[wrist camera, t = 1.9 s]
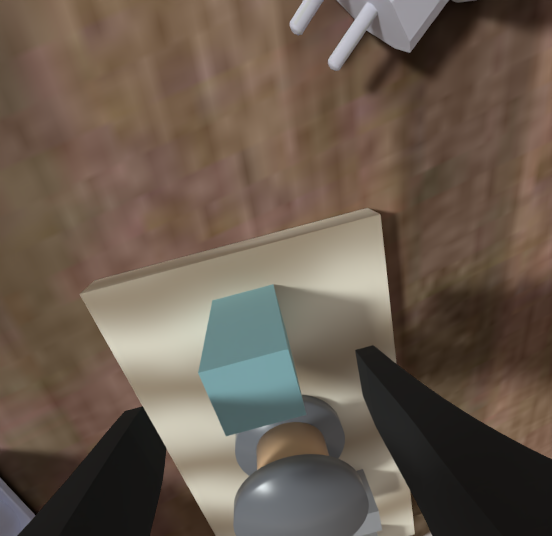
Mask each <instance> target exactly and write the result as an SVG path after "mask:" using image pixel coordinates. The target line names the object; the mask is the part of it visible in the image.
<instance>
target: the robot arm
mask: <svg viewBox="0 0 552 536" xmlns="http://www.w3.org/2000/svg"><path fill="white" fill-rule="evenodd" d="M355 354H356V359H357V365H358V371H359V377H360V383H361V389H362V394H363V398H364V400H365V402H366V405H367V407H368V410H369V412H370V415H371V417H372V419H373V422H374V424H375V426H376V428H377V430H378V432H379V434H380V436H381V438H382V439H383V441H384V443H385V445H386V447H387V449H388V450H389V452H390V454H391V456H392V458H393V460H394V462H395V463H396V465H397V467H398V469H399V471H400V473H401V474H402V476H403V478H404V480H405V482H406V484H407V485H408V487H409V489H410V491H411V493H412V495H413V496H414V498H415V500H416V502H417V504H418V506H419V508H420V510H421V512H422V514H423V516H424V518H425V520H426V523H427V525H428V527H429V529H430V532H431V534H432V536H552V459H550V458H548V457H546V456H544V455H542V454H540V453H538V452H536V451H534V450H532V449H529V448H527V447H526V446H524V445H522V444H520V443H518V442H516V441H514V440H513V439H511V438H509V437H507V436H505V435H503V434H501V433H500V432H498V431H496V430H494V429H493V428H491V427H489V426H487V425H486V424H484V423H482V422H480V421H479V420H477V419H475V418H474V417H472V416H470V415H469V414H467V413H466V412H464V411H462V410H461V409H459V408H458V407H456V406H455V405H453V404H452V403H450V402H449V401H447V400H446V399H444V398H442V397H441V396H440V395H438V394H437V393H435V392H434V391H432V390H431V389H429V388H428V387H427V386H425V385H424V384H423V383H421V382H420V381H418V380H417V379H416V378H414V377H413V376H412V375H410V374H409V373H408V372H406V371H405V370H404V369H402V368H401V367H400V366H399V365H397V364H396V363H395V362H394V361H392V360H391V359H390V358H389V357H387V356H386V355H385V354H384V353H383V352H381V351H380V350H379V349H378V348H377V347H375V346H373V345H372V346H368V347H364V348H361V349H357V350H355ZM165 457H166V446H165V445H164V443H163V441H162V439H161V438H160V436H159V434H158V432H157V430H156V429H155V427H154V425H153V423H152V422H151V420H150V418H149V416H148V414H147V413H146V411H145V409H144V407H143V406H142V407H139V408H135V409H131V410H127V411H125V412H124V413H123V414H122V415H121V416H120V417H119V418H118V419H117V421H116V422H115V423H114V424H113V425H112V427H111V428H110V429H109V430H108V431H107V432H106V434H105V435H104V436H103V437H102V439H101V440H100V441H99V442H98V443H97V445H96V446H95V447H94V448H93V449H92V451H91V452H90V453H89V454H88V455H87V457H86V458H85V459H84V460H83V461H82V463H81V464H80V465H79V466H78V467H77V469H76V470H75V471H74V472H73V473H72V475H71V476H70V477H69V478H68V479H67V481H66V482H65V483H64V484H63V485H62V486H61V487H60V488H59V490H58V491H57V492H56V493H55V494H54V495H53V496H52V498H51V499H50V500H49V501H48V502H47V503H46V504H45V505H44V507H43V508H42V509H41V510H40V511H39V512H38V513H37V515H35V514H34V513H33V512H32V511H31V510H30V509H29V508H28V507H27V506H26V505H25V504H24V503H23V502H22V500H21V499H20V498H19V497H18V496H17V495H16V494H15V493H14V492H13V491H12V490H11V489H10V488H9V487H8V485H7V484H6V483H5V482H4V481H3V480H2V479H1V478H0V536H150V532H151V528H152V524H153V520H154V516H155V512H156V507H157V503H158V499H159V495H160V490H161V486H162V481H163V473H164V466H165Z"/></svg>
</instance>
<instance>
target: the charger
mask: <svg viewBox="0 0 552 536" xmlns="http://www.w3.org/2000/svg"><path fill="white" fill-rule="evenodd" d="M337 1H338V2H339V3H340V4H341V5H342V6H343V7H344V8H345V10H346V11H347V12H348V13H349V14H350V15H351V16H352V17H353V18H354V19H355V20H354V22H353V23H352V25H351V26H350V28H349V29H348V31H347V32H346V34H345V35H344V37H343V38H342V40H341V41H340V43H339V44H338V46H337V47H336V49H335V50H334V52H333V53H332V55H331V56H330V58H329V59H328V64H329V66H330V68H331V69H332V70H335V71H338V70H340V68H341V67H342V65H343V64H344V63H345V61H346V60H347V58H348V57H349V55H350V54H351V52H352V51H353V49H354V48H355V47H356V45H357V44H358V42H359V41H360V39H361V38H362V36H363V35H364V33H365V32H366V31H368V32H370V33H371V34H373V35H374V36H376V37H378V38H379V39H381V40H382V41H384V42H386V43H387V44H389V45H390V46H392V47H393V48H395V49H399V50H402V51H405V52H409V53H410V52H411V51H412V50H413V48H414V47H415V46H416V44H417V43H418V41H419V40H420V39H421V37H422V36H423V35H424V33H425V32H426V31H427V29H428V28H429V27H430V25H431V24H432V22H433V21H434V20H435V18H436V17H437V16H438V14H439V13H440V12H441V10H442V9H443V8H444V6H445V5H446V3H447V2H448V1H449V0H337ZM452 1H454V2H458V3H459V2H467V1H475V0H452ZM322 2H323V0H303V2H302V4H301V5H300V7H299V8H298V10H297V12H296V13H295V15H294V17H293V18H292V20H291V21H290V28H291V30H292V32H293V33H294V34H297V35H302V33H303V32H304V30H305V29H306V27H307V26H308V24H309V22H310V21H311V19H312V18H313V16H314V15H315V13H316V11H317V10H318V8H319V7H320V5H321V4H322Z"/></svg>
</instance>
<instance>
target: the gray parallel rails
mask: <svg viewBox="0 0 552 536" xmlns="http://www.w3.org/2000/svg"><path fill="white" fill-rule="evenodd" d="M357 473H358V474H359V476H360V478H361V480H362V483H363V486H364V489H365V492H366V494H367V497H368V501H369V510H368V514H367V517H366V519H365V521H364V523H363V525H362V526H361V527H360V529H359V530H358V531H357V532H356V533H355V534H354V535H353V536H378V535H377V531H381V530H382V526H381V521H380V515H379V510H378V508H377V505H376V502H375V500H374V497H373V494H372V492H371V489H370V486H369V484H368V481H367V478H366V476H365V473H364V470H363V469H361V470H358V471H357Z"/></svg>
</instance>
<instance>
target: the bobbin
mask: <svg viewBox="0 0 552 536" xmlns="http://www.w3.org/2000/svg"><path fill="white" fill-rule="evenodd" d="M302 398H303V402H304V407H305V411H306V415H304V416H300V417H296V418H293V419H289V420H285V421H281V422H278V423H274V424H270V425H267V426H263V427H259V428H255V429H252V430H248V431H244V432H241V433H237V434H236V437H235V455H236V460H237V462H238V464H239V466H240V468H241V469H242V470H243V471H244V472H245V473H246V474H247V475H249V477H248V478H247V479H246V480H245V481H244V482H243V483H242V485H241V486H240V488H239V489H238V491H237V493H236V496H235V500H234V520H233V527H234V532H235V535H236V536H353V535H354V534H355V533H356V532H357V531H358V530H359V529H360V527H361V526H362V525H363V523H364V521H365V519H366V517H367V514H368V510H369V501H368V497H367V494H366V492H365V489H364V486H363V483H362V480H361V478H360V476H359V474H358V473H357V471H356V470H355V469H354V468H353V467H352V466H350V465H349V464H348V463H346V462H344V461H342V460H340V459H338V458H339V457H340V455H341V453H342V451H343V448H344V444H345V434H344V431H343V428H342V425H341V422H340V419H339V417H338V415H337V413H336V411H335V410H334V409H333V408H332V407H331V406H330V405H329V404H327V403H326V402H324V401H323V400H321V399H319V398H316V397H313V396H308V395H302Z"/></svg>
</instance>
